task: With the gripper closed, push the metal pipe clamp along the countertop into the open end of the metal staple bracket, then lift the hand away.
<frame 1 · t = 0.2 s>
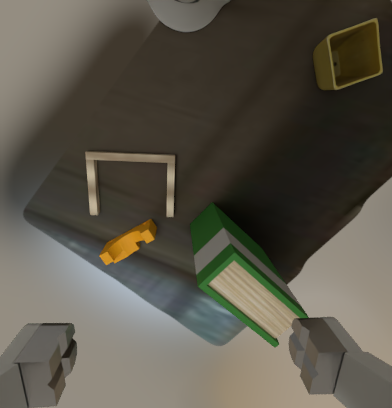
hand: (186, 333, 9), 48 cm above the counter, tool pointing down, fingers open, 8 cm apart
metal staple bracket: (133, 189, 56), on the counter
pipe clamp: (134, 237, 60), on the counter
flower pot: (325, 66, 51), on the counter
hardback book: (226, 236, 61), on the counter
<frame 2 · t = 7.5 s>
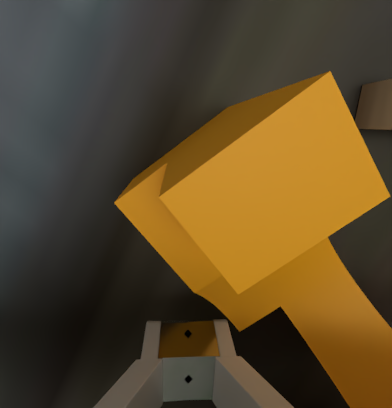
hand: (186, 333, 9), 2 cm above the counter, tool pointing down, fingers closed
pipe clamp: (260, 254, 11), on the counter
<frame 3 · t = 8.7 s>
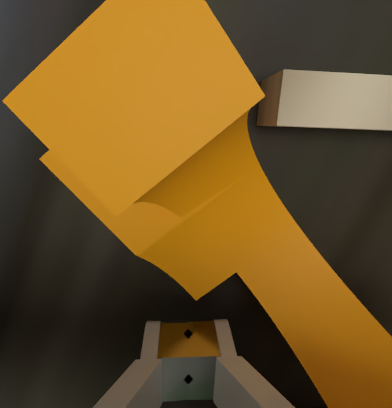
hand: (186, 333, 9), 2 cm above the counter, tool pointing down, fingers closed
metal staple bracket: (352, 295, 12), on the counter
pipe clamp: (224, 226, 11), on the counter
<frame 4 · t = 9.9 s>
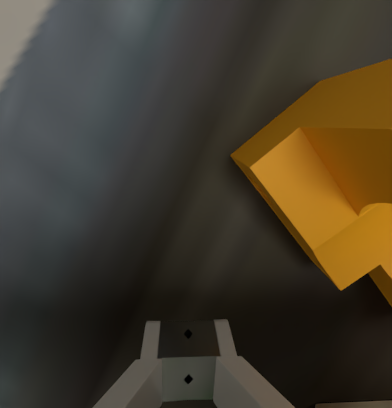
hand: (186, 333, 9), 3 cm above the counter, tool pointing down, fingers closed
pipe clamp: (341, 223, 12), on the counter
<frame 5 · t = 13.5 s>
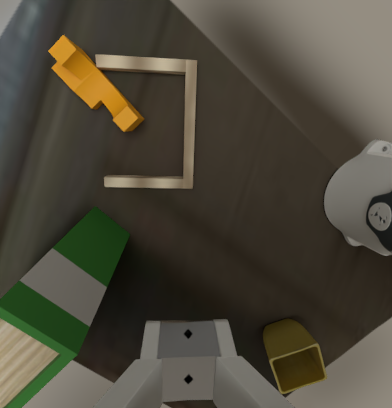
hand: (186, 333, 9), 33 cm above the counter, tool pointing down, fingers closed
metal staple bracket: (141, 126, 38), on the counter
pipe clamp: (105, 97, 37), on the counter
flower pot: (279, 329, 52), on the counter
hardback book: (80, 254, 44), on the counter
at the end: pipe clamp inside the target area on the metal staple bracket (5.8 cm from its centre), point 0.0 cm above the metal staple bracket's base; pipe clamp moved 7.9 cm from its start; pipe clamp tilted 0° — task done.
